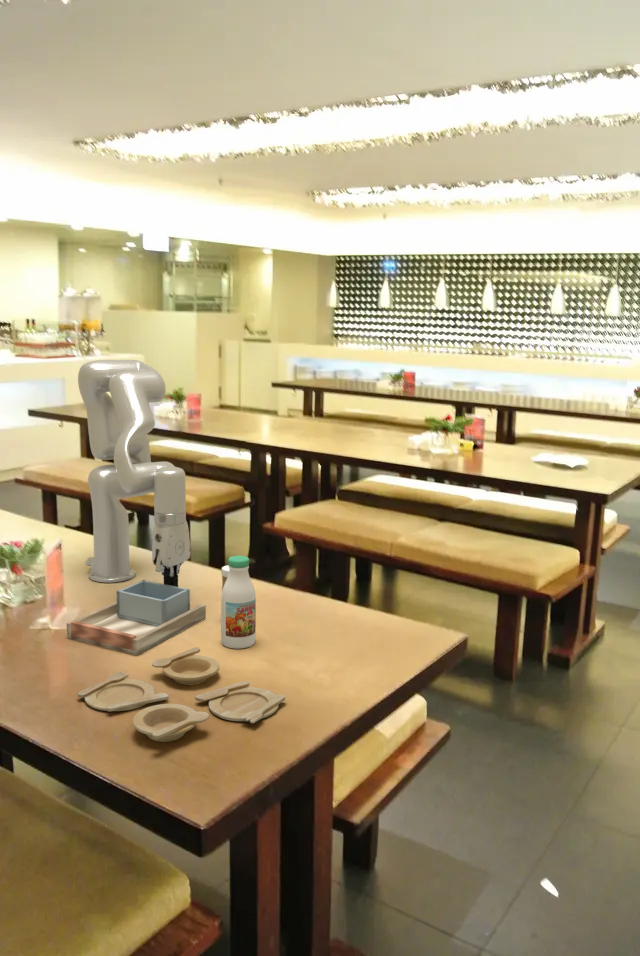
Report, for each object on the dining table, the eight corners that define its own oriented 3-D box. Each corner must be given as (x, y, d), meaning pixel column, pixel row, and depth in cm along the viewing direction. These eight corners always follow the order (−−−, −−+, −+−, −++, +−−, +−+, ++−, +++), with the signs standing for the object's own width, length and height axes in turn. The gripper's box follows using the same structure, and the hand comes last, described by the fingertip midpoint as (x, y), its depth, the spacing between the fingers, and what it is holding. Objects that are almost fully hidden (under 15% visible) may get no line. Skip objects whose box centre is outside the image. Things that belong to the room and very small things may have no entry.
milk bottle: (214, 645, 186) (214, 559, 182) (233, 634, 193) (233, 551, 189) (243, 652, 183) (243, 565, 179) (261, 640, 189) (262, 556, 185)
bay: (67, 638, 188) (66, 621, 187) (140, 604, 211) (139, 589, 210) (137, 655, 179) (137, 638, 178) (205, 618, 202) (205, 602, 201)
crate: (117, 616, 198) (116, 591, 197) (143, 604, 207) (143, 579, 206) (164, 627, 192) (164, 601, 191) (189, 614, 201) (189, 589, 200)
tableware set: (299, 712, 157) (299, 692, 156) (169, 768, 136) (168, 745, 136) (190, 655, 181) (190, 638, 180) (66, 695, 161) (65, 676, 160)
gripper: (164, 526, 193) (165, 601, 197) (200, 513, 206) (200, 584, 210) (138, 522, 196) (139, 596, 200) (175, 510, 210) (176, 579, 213)
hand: (171, 590), depth 205 cm, fingers closed
